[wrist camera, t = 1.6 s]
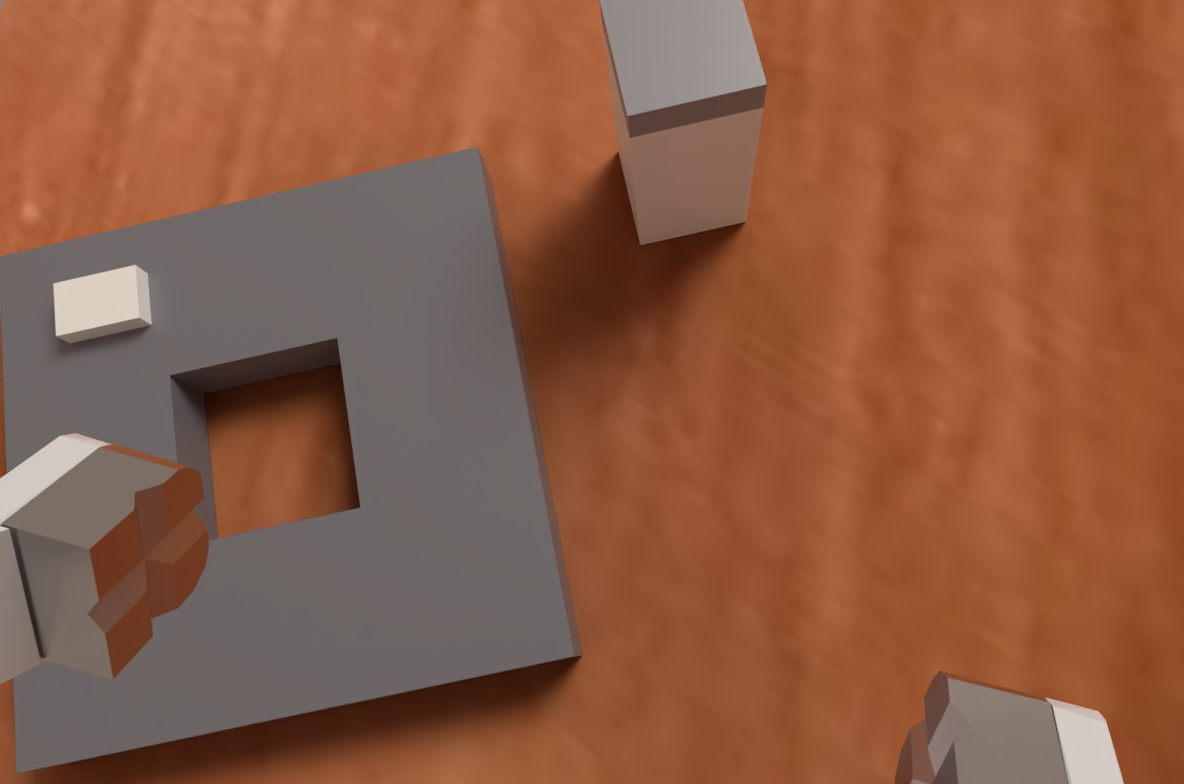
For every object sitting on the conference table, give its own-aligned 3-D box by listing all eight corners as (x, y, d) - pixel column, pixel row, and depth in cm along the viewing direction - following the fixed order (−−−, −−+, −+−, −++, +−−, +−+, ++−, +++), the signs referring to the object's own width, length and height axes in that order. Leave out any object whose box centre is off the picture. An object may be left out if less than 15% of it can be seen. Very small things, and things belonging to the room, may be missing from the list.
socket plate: (491, 179, 37) (473, 135, 34) (582, 655, 32) (571, 656, 29) (42, 281, 38) (-17, 247, 34) (65, 764, 33) (-1, 776, 29)
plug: (720, 128, 37) (732, -34, 28) (745, 221, 36) (767, 84, 27) (618, 151, 37) (599, -2, 28) (640, 245, 36) (627, 116, 27)
